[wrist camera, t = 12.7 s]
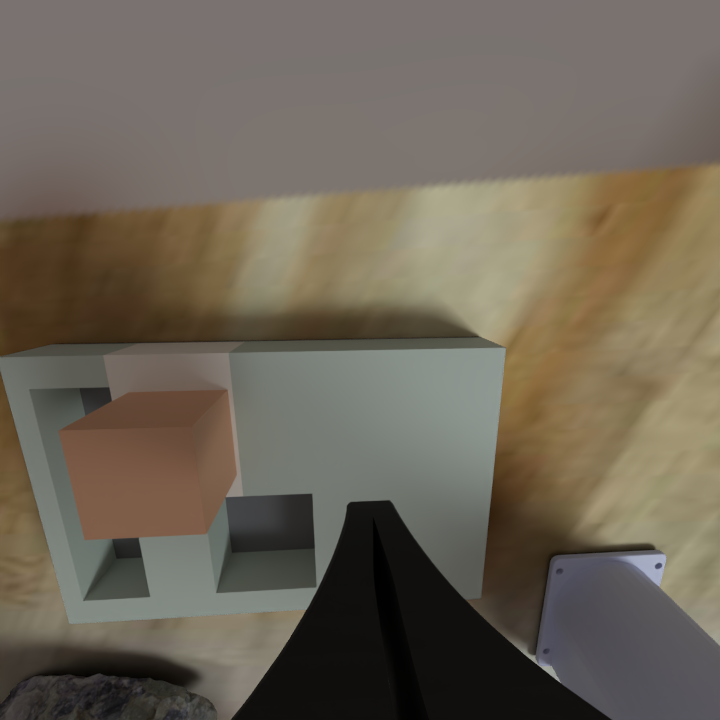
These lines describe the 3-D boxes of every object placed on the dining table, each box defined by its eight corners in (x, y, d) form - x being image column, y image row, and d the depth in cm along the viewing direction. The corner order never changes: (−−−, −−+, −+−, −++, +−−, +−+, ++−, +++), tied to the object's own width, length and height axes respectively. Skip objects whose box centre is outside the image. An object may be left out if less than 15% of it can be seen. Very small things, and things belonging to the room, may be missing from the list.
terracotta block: (237, 475, 17) (206, 534, 13) (143, 478, 17) (84, 540, 13) (227, 389, 16) (191, 426, 12) (128, 392, 16) (58, 430, 12)
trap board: (462, 557, 23) (480, 598, 20) (106, 576, 21) (69, 624, 18) (480, 336, 19) (505, 347, 16) (52, 344, 18) (-4, 357, 15)
